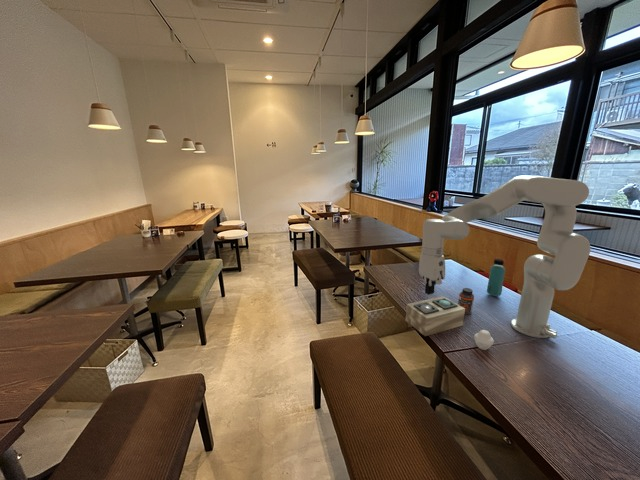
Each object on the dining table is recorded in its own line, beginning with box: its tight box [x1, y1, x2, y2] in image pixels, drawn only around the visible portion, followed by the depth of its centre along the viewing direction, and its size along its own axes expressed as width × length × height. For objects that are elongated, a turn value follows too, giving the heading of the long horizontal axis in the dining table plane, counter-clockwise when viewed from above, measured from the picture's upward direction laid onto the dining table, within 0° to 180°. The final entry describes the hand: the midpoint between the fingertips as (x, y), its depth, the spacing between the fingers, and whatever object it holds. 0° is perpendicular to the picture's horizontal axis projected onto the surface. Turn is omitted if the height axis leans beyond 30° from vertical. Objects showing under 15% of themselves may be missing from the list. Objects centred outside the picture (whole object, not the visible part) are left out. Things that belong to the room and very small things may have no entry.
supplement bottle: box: [457, 287, 475, 315], centre depth 118 cm, size 6×6×11 cm
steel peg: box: [420, 304, 432, 311], centre depth 108 cm, size 4×4×8 cm
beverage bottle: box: [486, 258, 506, 297], centre depth 132 cm, size 6×7×20 cm
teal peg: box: [439, 300, 450, 307], centre depth 112 cm, size 4×4×8 cm
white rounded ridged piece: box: [473, 329, 495, 351], centre depth 95 cm, size 6×6×7 cm
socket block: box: [405, 295, 466, 337], centre depth 110 cm, size 12×20×9 cm, turn 110°
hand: (429, 293), depth 106 cm, fingers closed
